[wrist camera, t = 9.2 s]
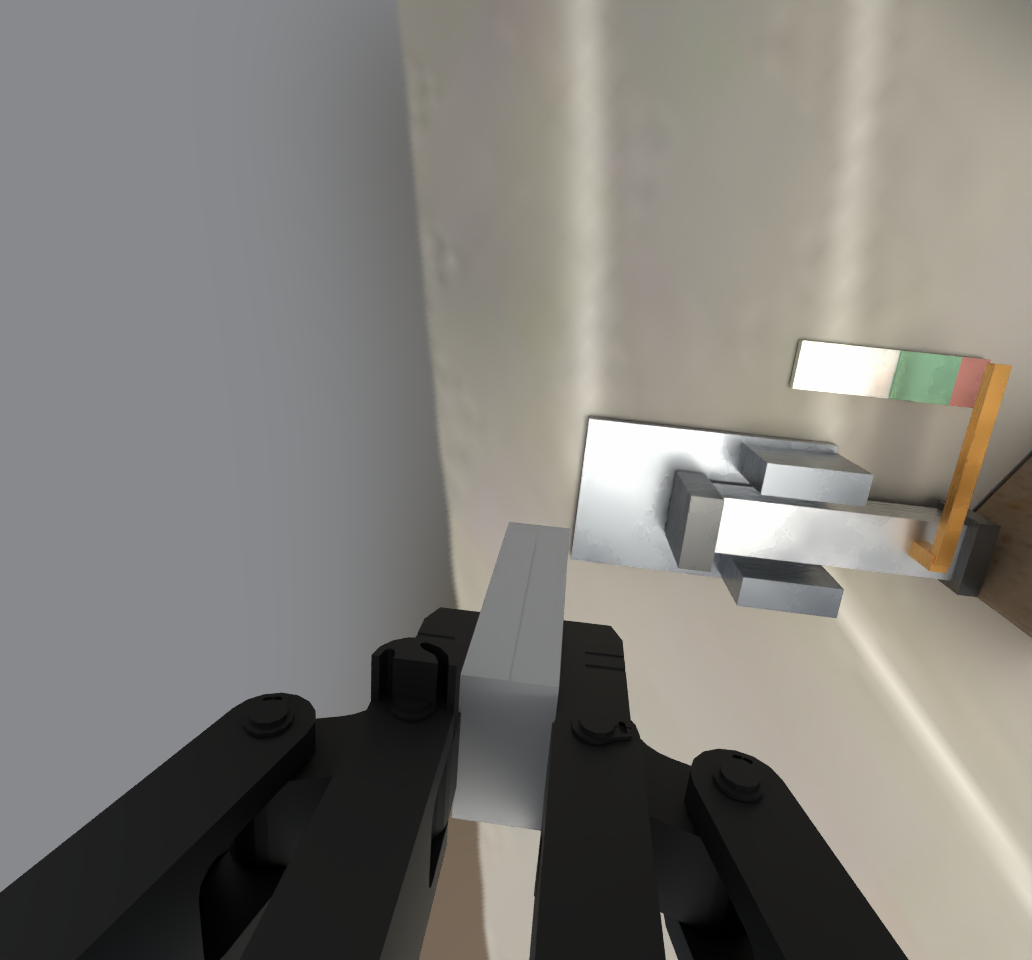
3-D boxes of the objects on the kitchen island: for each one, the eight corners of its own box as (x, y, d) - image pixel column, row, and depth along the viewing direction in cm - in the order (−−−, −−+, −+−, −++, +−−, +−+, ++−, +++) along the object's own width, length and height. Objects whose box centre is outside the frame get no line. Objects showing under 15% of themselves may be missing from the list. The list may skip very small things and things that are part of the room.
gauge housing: (601, 319, 35) (606, 323, 30) (983, 358, 34) (1054, 369, 29) (570, 554, 39) (571, 592, 34) (913, 595, 38) (965, 641, 33)
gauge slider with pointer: (700, 330, 34) (722, 336, 29) (999, 361, 33) (1075, 372, 28) (665, 534, 37) (679, 571, 32) (936, 566, 36) (995, 610, 31)
